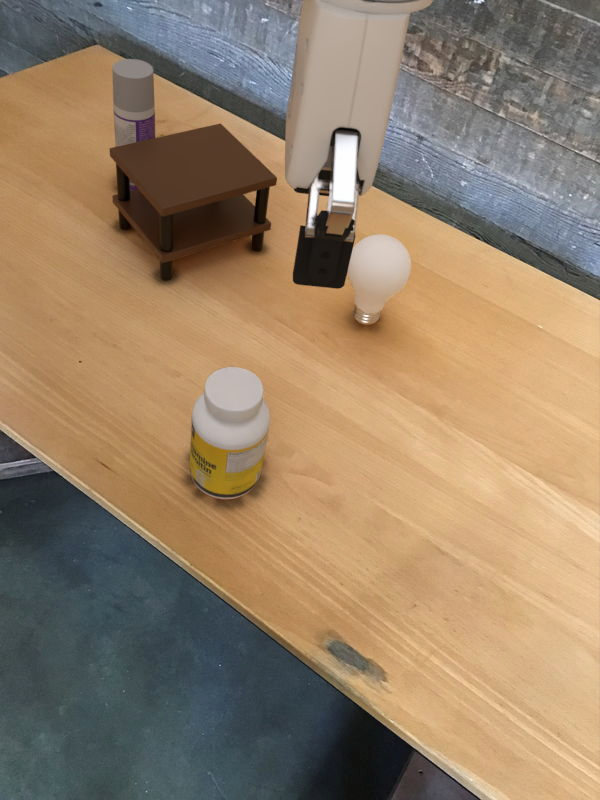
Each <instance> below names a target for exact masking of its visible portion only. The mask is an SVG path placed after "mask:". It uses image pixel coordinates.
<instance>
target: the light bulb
mask: <svg viewBox="0 0 600 800" xmlns="http://www.w3.org/2000/svg"><path fill="white" fill-rule="evenodd" d="M411 272H412V260H411V256H410V254H409V251H408V249H407V248H406V246H405V245H404V244H403V242H401V241H400V240H399V239H397V238H395V237H393V236H391V235H388V234H381V233H379V234H371V235H368V236H366V237H363V238H362V239H361V240H359V241H358V242H357V243H356V244H355V245H353V249H352V254H351V258H350V263H349V267H348V272H347V278H348V280H349V282H350V284H351V286H352V288H353V291H354V299H353V301H354V305H353V310H352V316H353V318H354V319H355V321H356V322H357V323H359V324H362V325H365V326H370V325H374V324H375V323H377V321H378V320H379V319H380V317H381V312H382V310H383V309H384V308H385V306H386V304H387V302H388V301H389V300H390V299H392V298H393V297H394V296H396V294H398V293H399V292H401V291H402V290H403V289H404V287H405V286H406V285H407V284H408V281H409V279H410V277H411Z"/></svg>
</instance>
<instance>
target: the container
mask: <svg viewBox="0 0 600 800" xmlns="http://www.w3.org/2000/svg"><path fill="white" fill-rule="evenodd" d="M111 69H112V71H111V72H112V102H113V103H112V104H113V105H112V106H113V110H112V111H113V124H114V142H115V144H114V145H115V146H114V147H117V146H122V145H126V144H131V143H135V142H140V141H144V140H148V139H153V138H156V106H155V105H156V103H155V102H156V101H155V78H154V68H153V65H151V64H150V63H148V62H146V61H145V60H141V59H136V58H125V59H120V60H118V61H115V63H113V64H112V67H111ZM136 189H138V188H137V187H136V186H135V185H134V183H133V182H132V181H131V180H130V191H132V190H136Z"/></svg>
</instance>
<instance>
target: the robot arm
mask: <svg viewBox="0 0 600 800" xmlns="http://www.w3.org/2000/svg"><path fill="white" fill-rule="evenodd" d="M434 1H435V0H302V3H301V10H300V16H299V22H298V29H297V36H296V44H295V51H294V58H293V66H292V67H293V68H292V74H291V80H290V87H289V94H288V100H287V107H286V115H285V139H284V179H285V181H286V183H287V184H288V185H289V187H290V188H291V189H293V191H294V192H295V193H297V194H306V195H308V196H307V197H308V198H307V204H306V205H307V206H306V216H305V225H299V231H298V238H297V239H298V240H297V245H296V251H295V256H294V257H295V258H294V263H293V269H292V282H293V283H294V284H295V285H299V286H305V287H315V288H316V287H317V288H327V289H337V290H338V289H342V288H343V287H344V286H345V284H346V280H347V277H348V273H347V272H348V267H349V263H350V258H351V254H352V249H353V247H354V246H355V245H354V244H355V240H356V226H357V217H358V208H359V198H360V197H361V196H362V197H363V196H364V195H365V194H367V193H368V192H369V191H370V190H371V189H372V187H373V184H374V181H375V177H376V174H377V171H378V166H379V163H380V159H381V155H382V151H383V147H384V142H385V138H386V135H387V130H388V126H389V120H390V116H391V111H392V106H393V102H394V97H395V93H396V87H397V83H398V78H399V73H400V68H401V63H402V61H403V59H404V50H405V49H404V48H405V43H406V38H407V33H408V27H409V23H410V17H411V14H412V13H417V12H419V11H422V10H424V9H427V8H428V7H429V6H431V5H432V4H433V2H434ZM320 196H322V197H328V199H327V203H326V210H323V209H321V210H320V212H319V201H320ZM318 212H319V213H318Z"/></svg>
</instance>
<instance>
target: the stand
mask: <svg viewBox="0 0 600 800" xmlns="http://www.w3.org/2000/svg"><path fill="white" fill-rule="evenodd" d="M109 157H110V158H111V159H112V160H113V162H115V172H116V174H115V175H116V190H117V191H116V192H117V194H113V195H111V196H112V198H111V199H112V203H113V205H114V206H115V207H116V208H117V210H118V226H119V229H120V230H123V231H129V230H131V229H132V228H133V229H134V231H135V232H136V233H137V234H138V236H140V237H141V239H142V240H143V241H144V243H146V245H147V246H148V248H150V250H151V251H152V252H153V254H154V255H155V256H156V257H157V258H158V260H159V278H160V279H161V281H165V282H169V281H171V280H172V279H173V277H174V275H173V274H174V273H173V271H174V270H173V269H174V265H173V263H174V260H178V259H181V258H183V257H187V256H190V255H193V254H196V253H199V252H203V251H206V250H210V249H213V248H216V247H219V246H223V245H226V244H229V243H232V242H235V241H239V240H242V239H245V238H248V237H251V241H250V250H252V252H261V251H262V250H263V246H264V241H265V240H264V239H265V232H268V231H270V230H271V228H272V222H271V221H270V220H269V219H268V218H267V216H268V215H267V214H268V205H269V197H270V189H271V187H274V186H277V181H278V177H277V176H276V174H274V173H273V172H272V171H271V170H270V169H269V168H268V167H267V166H266V165H264V164H263V162H262V161H261V160H259V158H257V157H256V156H255V155H254V154H253V153H252V152H251V151H250V149H248V148H247V147H246V146H245V145H244V144H243V143H242V142H241V141H240V140H239V139H237V137H236V136H235V135H233V134H232V132H231V131H229V130H228V129H227V128H226V127H225V126H224V125H223V124H222V123H216V124H212V125H206V126H203V127H198V128H194V129H190V130H189V129H188V130H184V131H180V132H176V133H170V134H166V135H162V136H158V137H155V138H153V139H148V140H144V141H140V142H135V143H131V144H126V145H122V146H117V147H115V146H114V147H110V148H109ZM130 180H131V181H132V182H133V183H134V185H135V186H136V187H137V188H138V189H136V190H132V191H130ZM254 192H255V200H254V201H255V203H254V204H253V202H251V200H250V199H249V198H248V197H246V196H245V195H246V194H250V193H254Z"/></svg>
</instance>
